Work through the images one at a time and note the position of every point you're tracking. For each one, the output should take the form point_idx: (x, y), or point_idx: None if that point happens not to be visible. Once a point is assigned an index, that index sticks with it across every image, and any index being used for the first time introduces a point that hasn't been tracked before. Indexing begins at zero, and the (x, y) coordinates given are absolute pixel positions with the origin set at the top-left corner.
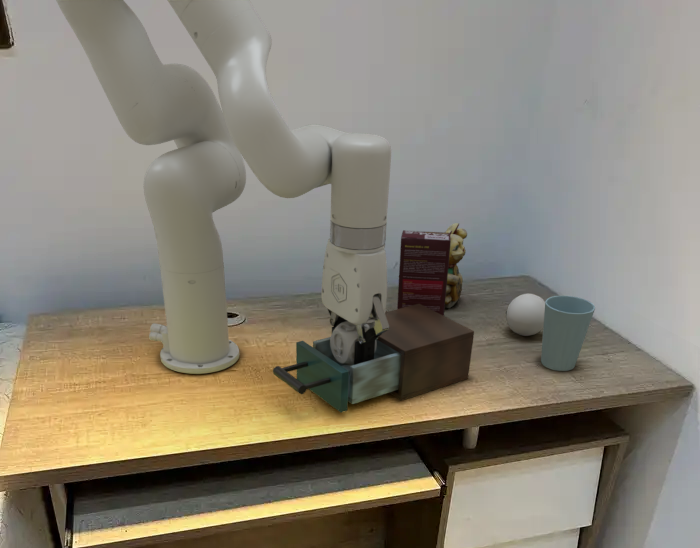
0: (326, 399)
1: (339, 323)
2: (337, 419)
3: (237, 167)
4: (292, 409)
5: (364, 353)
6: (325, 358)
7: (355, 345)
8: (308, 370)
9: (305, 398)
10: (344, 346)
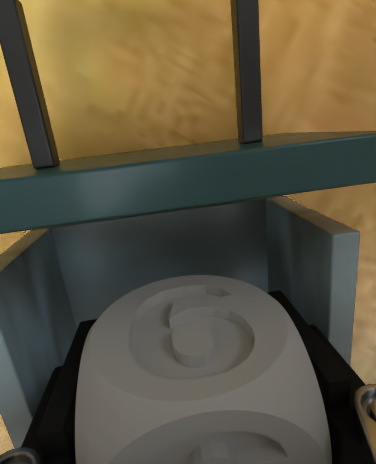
0: (94, 156)
1: (340, 440)
2: (12, 152)
3: None
4: (134, 36)
5: (39, 405)
6: (112, 194)
7: (62, 406)
8: (227, 143)
9: (187, 119)
10: (151, 345)
